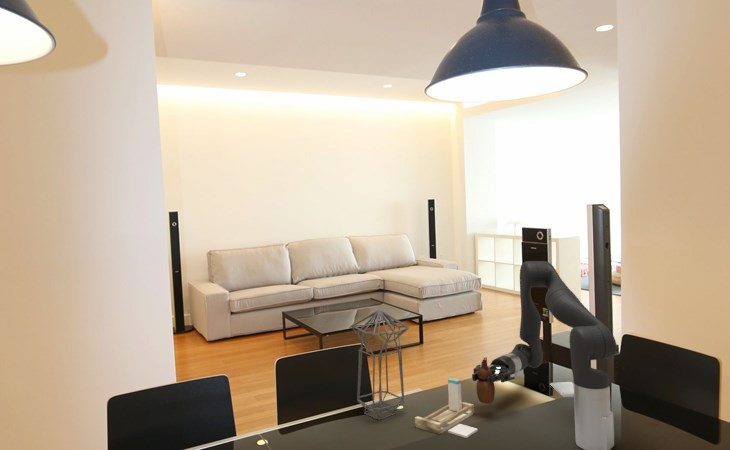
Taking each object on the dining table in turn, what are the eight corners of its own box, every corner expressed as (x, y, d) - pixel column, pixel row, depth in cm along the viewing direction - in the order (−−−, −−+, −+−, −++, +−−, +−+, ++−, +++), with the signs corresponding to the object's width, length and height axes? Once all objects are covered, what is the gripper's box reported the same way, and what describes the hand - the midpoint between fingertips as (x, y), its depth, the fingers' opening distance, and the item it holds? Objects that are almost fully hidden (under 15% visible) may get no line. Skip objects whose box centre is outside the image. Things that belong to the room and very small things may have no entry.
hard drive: (549, 382, 193) (563, 394, 180) (571, 381, 193) (586, 392, 181) (550, 387, 193) (563, 398, 181) (571, 385, 193) (586, 397, 181)
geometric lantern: (384, 401, 184) (382, 304, 183) (413, 415, 171) (412, 311, 170) (348, 412, 175) (346, 310, 174) (376, 428, 162) (374, 317, 161)
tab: (461, 410, 169) (460, 379, 169) (458, 411, 168) (457, 381, 168) (452, 407, 172) (451, 377, 171) (449, 409, 170) (447, 379, 170)
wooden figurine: (495, 405, 163) (493, 358, 163) (477, 405, 164) (474, 358, 164) (495, 398, 170) (492, 353, 170) (477, 398, 171) (474, 353, 171)
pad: (477, 430, 156) (477, 428, 156) (466, 438, 152) (466, 436, 152) (459, 425, 161) (459, 423, 161) (448, 432, 156) (447, 430, 156)
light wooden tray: (474, 413, 170) (473, 404, 170) (439, 434, 155) (438, 424, 155) (450, 407, 176) (450, 398, 176) (415, 427, 161) (414, 417, 161)
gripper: (487, 352, 182) (460, 364, 170) (525, 358, 173) (500, 371, 160) (488, 373, 182) (462, 387, 170) (526, 380, 173) (501, 395, 160)
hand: (480, 379), depth 165 cm, fingers closed on wooden figurine, 4 cm apart
